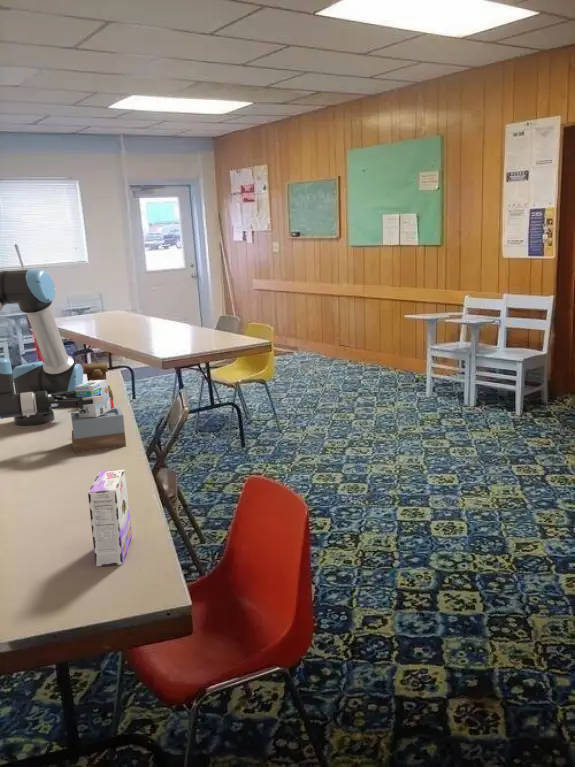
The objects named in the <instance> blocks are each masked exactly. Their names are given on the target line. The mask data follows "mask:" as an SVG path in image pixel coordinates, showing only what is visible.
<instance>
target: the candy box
mask: <svg viewBox="0 0 575 767" xmlns="http://www.w3.org/2000/svg"><path fill="white" fill-rule="evenodd" d="M87 496H88V505H89V514H90V525H91V533H92V542H93V543H92V546H93V551H94V552H93V554H94V563H95V567H108V566H110V567H112V566H122V565H124V563H125V560H126V556H127V554H128V551H129V547H130V544H131V541H132V539H133V533H132V526H131V525H132V522H131V514H130V506H129V495H128V487H127V477H126V469H114V470H113V469H112V470H102V471H99V472H98V474H97V475H96V478H95V479H94V481H93V483H92V485H91V486H90V488H89V490H88V492H87Z"/></svg>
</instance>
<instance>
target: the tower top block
mask: <svg viewBox="0 0 575 767" xmlns="http://www.w3.org/2000/svg"><path fill="white" fill-rule="evenodd" d="M70 416H71V417H70V418H71V424H72V430H73V436H74V439H80V438H88V437H96V436H104V435H112V434H120V433H125V434H126V431H125V420H124V419H125V418H124V414H123V412H122V409H121V407H120V406H119V407H114V408H111V410H110V411H108V412H106V413H104V414H102V415H100V416H98V417H82V418H80V417H79V411H78V412H77V411H76V412H71V413H70Z"/></svg>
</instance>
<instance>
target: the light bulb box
mask: <svg viewBox="0 0 575 767" xmlns="http://www.w3.org/2000/svg"><path fill="white" fill-rule="evenodd" d="M75 391H76V397H77V399H82V400H83V398H85V397H94V396H103V399H104V404H99V405H90V406H83V409H80V408H77V409H78V410H77V411H78V412H79V417H80V418H82V417H98V416H100V415H102V414H104V413H106V412H108V411H110V410H111V405H110V398H109V391H108V380H107V379H106V380H89V381H88V380H87V381H86V382H83V383H82V384H80V385H78V386H75Z"/></svg>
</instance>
